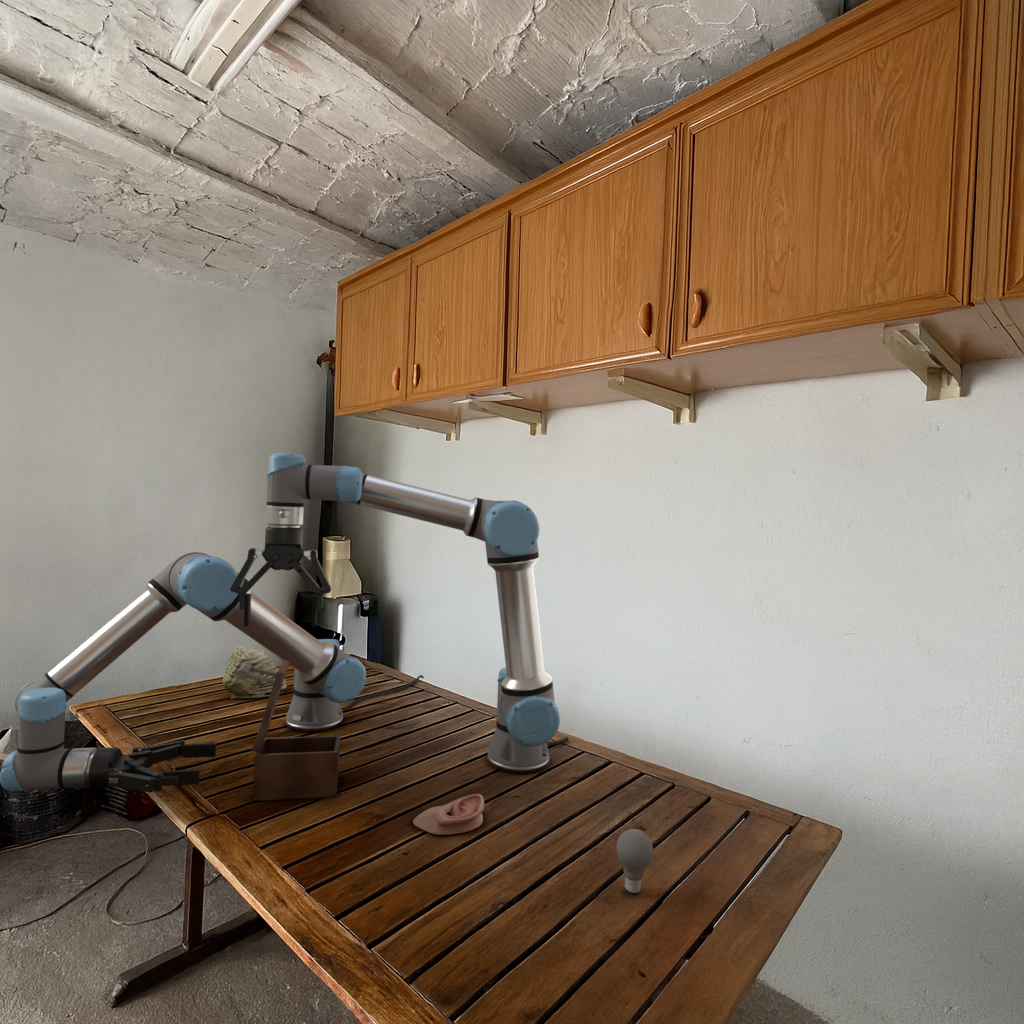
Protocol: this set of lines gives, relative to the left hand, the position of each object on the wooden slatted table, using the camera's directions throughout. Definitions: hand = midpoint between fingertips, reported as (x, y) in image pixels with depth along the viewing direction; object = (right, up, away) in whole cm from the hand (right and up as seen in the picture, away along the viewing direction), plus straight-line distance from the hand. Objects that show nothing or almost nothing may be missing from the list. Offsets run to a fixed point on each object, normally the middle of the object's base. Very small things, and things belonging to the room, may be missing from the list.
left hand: (207, 762), depth 133 cm
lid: (+13, +11, +3) cm, 17 cm away
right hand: (+14, +28, +2) cm, 32 cm away
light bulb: (+84, -11, -27) cm, 89 cm away
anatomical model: (+51, -9, -7) cm, 53 cm away
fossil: (-17, -4, +65) cm, 67 cm away
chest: (+18, -7, +4) cm, 19 cm away
